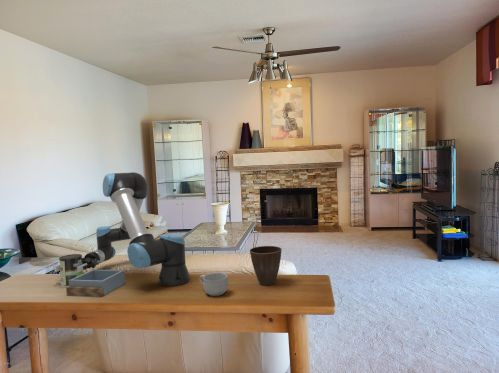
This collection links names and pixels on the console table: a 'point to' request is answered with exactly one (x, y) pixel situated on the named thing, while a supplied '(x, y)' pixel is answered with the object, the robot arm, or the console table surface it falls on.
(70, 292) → the rail
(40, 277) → the console table surface
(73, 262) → the coffee can
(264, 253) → the plant pot
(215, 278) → the teacup
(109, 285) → the tray
